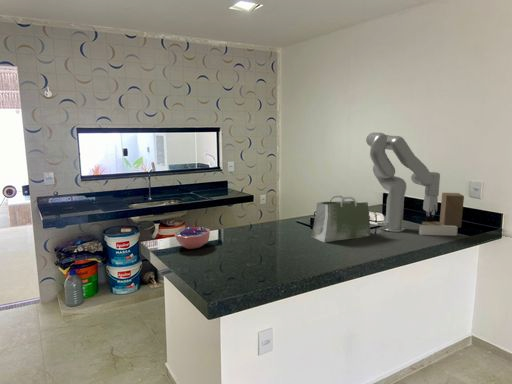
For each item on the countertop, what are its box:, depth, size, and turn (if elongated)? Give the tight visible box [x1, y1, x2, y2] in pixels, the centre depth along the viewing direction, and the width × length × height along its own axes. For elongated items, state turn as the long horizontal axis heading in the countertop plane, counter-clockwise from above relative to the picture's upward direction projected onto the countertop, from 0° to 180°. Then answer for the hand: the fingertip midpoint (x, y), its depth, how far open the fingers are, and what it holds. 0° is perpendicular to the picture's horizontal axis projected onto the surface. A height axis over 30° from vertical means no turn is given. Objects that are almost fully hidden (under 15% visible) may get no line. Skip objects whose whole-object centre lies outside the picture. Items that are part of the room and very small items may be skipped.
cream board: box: [418, 224, 459, 237], centre depth 217 cm, size 20×3×5 cm, turn 86°
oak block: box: [421, 221, 446, 226], centre depth 224 cm, size 10×9×5 cm
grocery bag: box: [310, 195, 372, 243], centre depth 212 cm, size 32×14×23 cm, turn 115°
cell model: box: [174, 226, 211, 250], centre depth 193 cm, size 17×20×11 cm
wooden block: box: [439, 192, 465, 229], centre depth 236 cm, size 10×10×20 cm
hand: (429, 222), depth 230 cm, fingers closed
